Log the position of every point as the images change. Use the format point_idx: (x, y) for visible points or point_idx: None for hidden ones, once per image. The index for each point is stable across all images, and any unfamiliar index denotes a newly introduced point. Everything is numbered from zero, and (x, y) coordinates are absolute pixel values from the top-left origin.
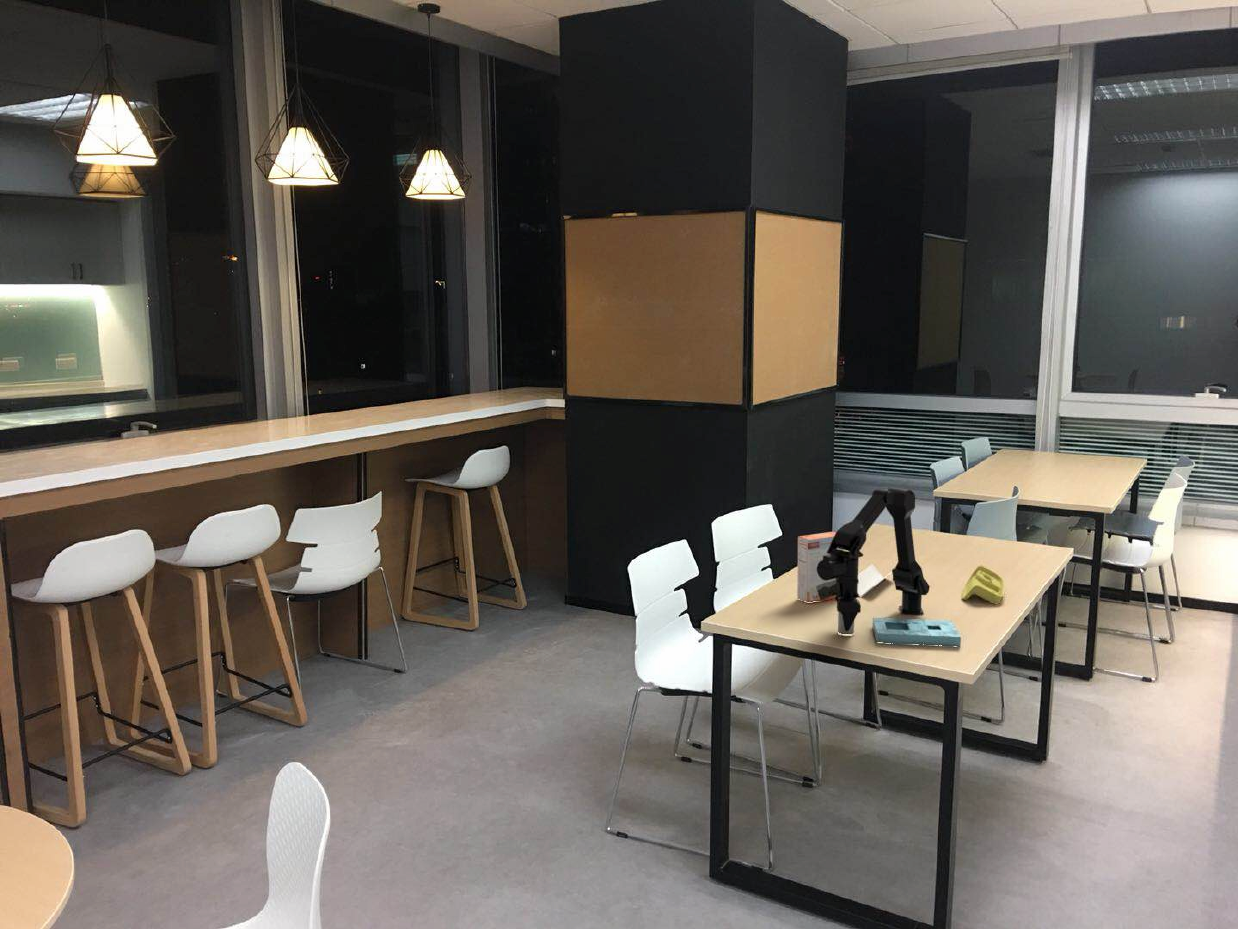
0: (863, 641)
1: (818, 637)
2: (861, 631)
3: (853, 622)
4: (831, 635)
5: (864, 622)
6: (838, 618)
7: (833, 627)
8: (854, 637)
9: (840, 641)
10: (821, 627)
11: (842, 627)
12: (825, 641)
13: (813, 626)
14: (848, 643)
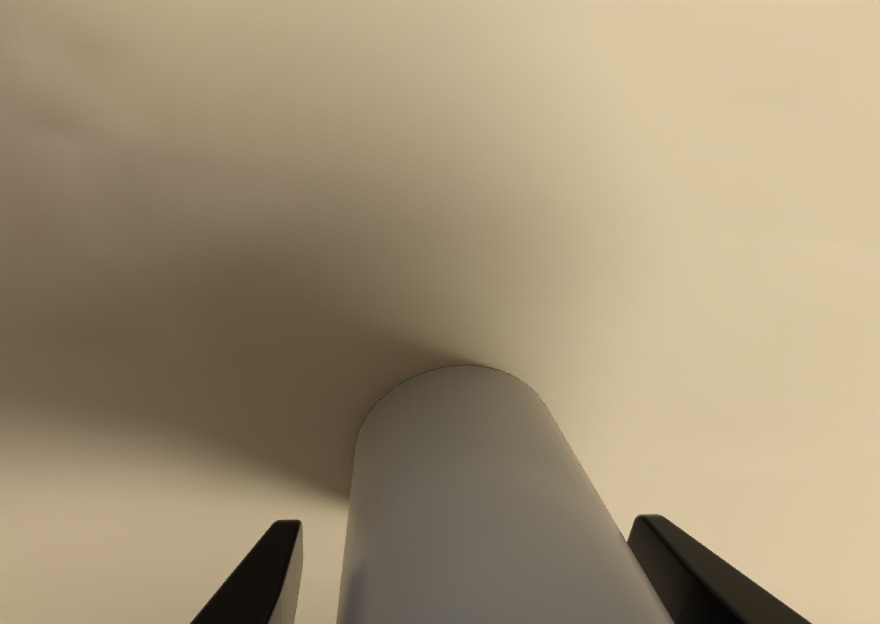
0: None
1: (256, 12)
2: None
3: None
4: (396, 271)
5: None
6: (518, 590)
7: (734, 335)
8: (343, 532)
9: (130, 370)
10: (774, 161)
11: (363, 511)
12: (44, 125)
13: (857, 19)
14: (72, 461)
